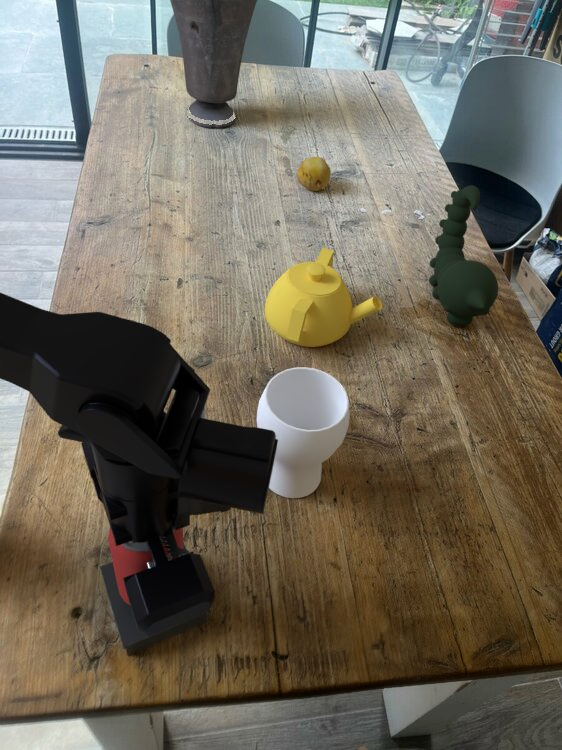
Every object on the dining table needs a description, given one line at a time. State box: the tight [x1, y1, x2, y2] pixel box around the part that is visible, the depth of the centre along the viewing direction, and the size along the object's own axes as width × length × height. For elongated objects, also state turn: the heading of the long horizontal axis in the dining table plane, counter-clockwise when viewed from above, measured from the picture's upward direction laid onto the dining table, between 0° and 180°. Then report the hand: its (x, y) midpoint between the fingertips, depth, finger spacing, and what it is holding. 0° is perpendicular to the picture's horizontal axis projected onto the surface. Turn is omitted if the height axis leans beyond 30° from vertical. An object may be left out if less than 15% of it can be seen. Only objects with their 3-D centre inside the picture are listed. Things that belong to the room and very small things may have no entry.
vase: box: [169, 0, 258, 129], centre depth 134 cm, size 22×22×30 cm
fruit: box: [296, 156, 332, 192], centre depth 124 cm, size 7×7×10 cm
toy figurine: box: [428, 185, 499, 328], centre depth 97 cm, size 9×19×25 cm
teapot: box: [264, 247, 383, 348], centre depth 92 cm, size 20×18×11 cm
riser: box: [99, 541, 212, 657], centre depth 62 cm, size 9×9×3 cm
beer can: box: [107, 526, 184, 605], centre depth 55 cm, size 7×7×12 cm
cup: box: [256, 366, 351, 499], centre depth 70 cm, size 11×11×15 cm
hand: (149, 559), depth 56 cm, fingers closed on beer can, 6 cm apart
